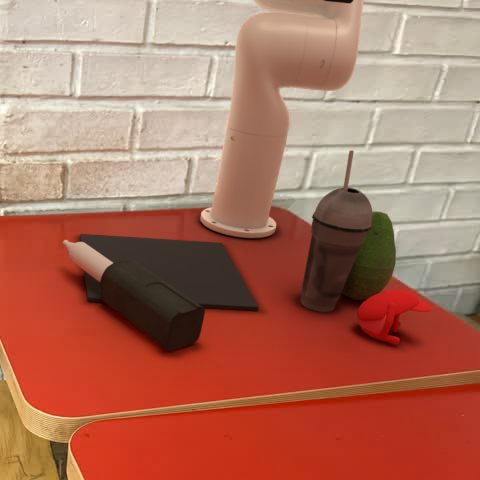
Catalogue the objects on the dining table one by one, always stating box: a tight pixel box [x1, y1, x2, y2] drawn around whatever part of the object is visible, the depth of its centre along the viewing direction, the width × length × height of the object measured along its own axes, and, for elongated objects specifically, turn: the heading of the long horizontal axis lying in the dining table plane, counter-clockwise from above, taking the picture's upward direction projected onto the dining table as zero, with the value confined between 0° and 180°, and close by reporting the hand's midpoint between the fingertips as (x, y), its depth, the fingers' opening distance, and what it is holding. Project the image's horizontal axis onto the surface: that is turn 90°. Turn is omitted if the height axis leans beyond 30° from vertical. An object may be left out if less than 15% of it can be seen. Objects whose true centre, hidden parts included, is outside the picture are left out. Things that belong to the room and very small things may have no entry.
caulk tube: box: [62, 239, 206, 353], centre depth 85 cm, size 5×5×25 cm
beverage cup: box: [300, 149, 373, 313], centre depth 87 cm, size 7×7×20 cm
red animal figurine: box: [356, 289, 433, 345], centre depth 85 cm, size 8×6×6 cm
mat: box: [79, 233, 259, 312], centre depth 97 cm, size 22×22×1 cm
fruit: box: [341, 210, 397, 301], centre depth 92 cm, size 8×8×12 cm
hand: (335, 1), depth 72 cm, fingers closed
